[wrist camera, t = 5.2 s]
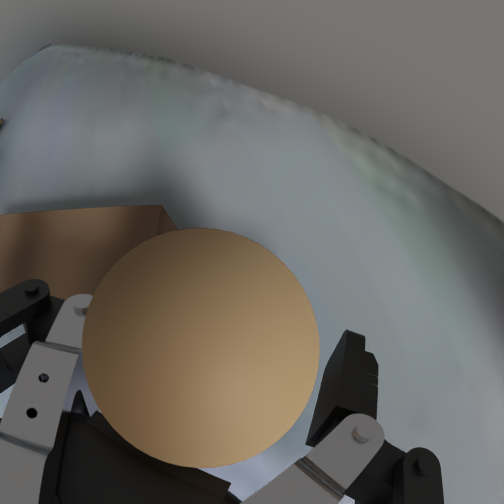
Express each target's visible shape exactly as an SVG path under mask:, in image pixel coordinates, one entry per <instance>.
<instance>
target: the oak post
mask: <svg viewBox="0 0 504 504" xmlns="http://www.w3.org/2000/svg"><path fill="white" fill-rule="evenodd" d="M319 354H320V351H319V334H318V329H317V323H316V319H315V316H314V313H313V310H312V307H311V304H310V301H309V299H308V297H307V295H306V293H305V291H304V289H303V288H302V286H301V285H300V283H299V282H298V280H297V279H296V277H295V276H294V274H293V273H292V272H291V271H290V270H289V269H288V268H287V266H286V265H285V264H284V263H283V262H282V261H281V260H280V259H278V258H277V257H276V256H275V255H274V254H273V253H271V252H270V251H269V250H267V249H266V248H264V247H262V246H261V245H259V244H258V243H256V242H254V241H252V240H250V239H248V238H246V237H243V236H240V235H237V234H234V233H231V232H228V231H223V230H217V229H208V228H190V229H181V230H176V231H171V232H168V233H164V234H161V235H158V236H156V237H153V238H151V239H149V240H147V241H145V242H143V243H141V244H140V245H138V246H136V247H135V248H133V249H132V250H130V251H129V252H128V253H127V254H125V255H124V256H123V257H122V258H121V259H120V260H119V261H118V262H117V263H116V264H115V265H114V266H113V267H112V268H111V269H110V270H109V271H108V273H107V274H106V275H105V277H104V278H103V279H102V281H101V282H100V284H99V286H98V287H97V289H96V291H95V293H94V295H93V297H92V300H91V302H90V304H89V307H88V310H87V314H86V317H85V322H84V327H83V334H82V359H83V366H84V371H85V376H86V379H87V383H88V386H89V389H90V391H91V394H92V396H93V398H94V400H95V402H96V404H97V406H98V408H99V409H100V411H101V413H102V414H103V416H104V417H105V418H106V420H107V421H108V422H109V423H110V425H111V426H112V427H113V428H114V429H115V430H116V431H117V432H118V433H119V434H120V435H121V436H122V437H123V438H124V439H125V440H126V441H128V442H129V443H130V444H132V445H133V446H134V447H136V448H137V449H139V450H141V451H142V452H144V453H146V454H148V455H150V456H152V457H154V458H157V459H159V460H162V461H164V462H167V463H171V464H175V465H179V466H185V467H194V468H212V467H220V466H226V465H231V464H234V463H237V462H240V461H243V460H246V459H249V458H251V457H253V456H255V455H257V454H259V453H261V452H262V451H264V450H265V449H267V448H268V447H270V446H271V445H273V444H274V443H275V442H277V441H278V440H279V439H280V438H281V437H282V436H283V435H284V434H285V433H286V432H287V431H288V430H289V429H290V428H291V427H292V425H293V424H294V423H295V422H296V420H297V419H298V418H299V416H300V415H301V413H302V411H303V409H304V408H305V406H306V404H307V403H308V400H309V398H310V395H311V393H312V390H313V388H314V384H315V380H316V376H317V372H318V364H319Z"/></svg>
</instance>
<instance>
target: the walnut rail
mask: <svg viewBox="0 0 504 504" xmlns="http://www.w3.org/2000/svg"><path fill="white" fill-rule="evenodd" d="M176 230H178V229H177V228H176V226H175V225H174V223H173V222H172V220H171V219H170V217H169V215H168V214H167V212H166V211H165V209H164V208H163V206H162V205H146V206H120V207H99V208H82V209H66V210H52V211H39V212H27V213H16V214H6V215H0V293H1V292H3V291H5V290H7V289H9V288H11V287H13V286H15V285H17V284H19V283H21V282H23V281H26V280H29V279H40V280H43V281H45V282H46V283H47V284H48V286H49V290H50V295H51V296H54V297H57V298H60V299H63V300H67V299H68V298H69V297H71V296H74V295H77V294H89V295H92V296H93V295H94V293H95V291H96V289H97V287H98V286H99V284H100V282H101V281H102V279H103V278H104V277H105V275H106V274H107V273H108V271H109V270H110V269H111V268H112V267H113V266H114V265H115V264H116V263H117V262H118V261H119V260H120V259H121V258H122V257H123V256H124V255H125V254H127V253H128V252H129V251H130V250H132V249H133V248H135V247H136V246H138V245H140V244H141V243H143V242H145V241H147V240H149V239H151V238H153V237H156V236H158V235H161V234H164V233H168V232H171V231H176Z"/></svg>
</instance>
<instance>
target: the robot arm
mask: <svg viewBox="0 0 504 504" xmlns="http://www.w3.org/2000/svg"><path fill="white" fill-rule="evenodd" d="M92 297H93V296H92V295H89V294H77V295H74V296H71V297H69V298H68V299H67V300H63V299H60V298H57V297H54V296H51V295H50V290H49V286H48V284H47V283H46V282H45V281H43V280H40V279H29V280H26V281H23V282H21V283H19V284H17V285H15V286H13V287H11V288H9V289H7V290H5V291H3V292H1V293H0V338H1V336H3V335H4V334H6V333H8V332H9V331H11V330H13V329H14V328H16V327H18V326H19V325H21V324H23V325H24V329H25V332H26V333H25V334H23V335H21V336H20V337H18V338H16V339H15V340H13V341H11V342H10V343H8V344H7V345H5V346H3V347H2V348H0V393H2V392H3V391H4V390H6V389H7V388H9V387H10V386H12V385H13V384H14V383H15V385H14V387H13V390H12V393H11V395H10V398H9V400H8V403H7V406H6V409H5V412H4V414H3V417H2V418H0V504H338V503H339V502H340V501H341V499H342V498H343V497H344V495H347V496H349V497H350V498H352V499H354V500H355V504H444V496H443V485H442V476H441V467H440V463H439V460H438V458H437V457H436V456H435V454H434V453H433V452H431V451H430V450H428V449H426V448H421V447H417V448H413V449H411V450H410V451H409V452H407V453H406V452H404V451H402V450H400V449H398V448H397V447H395V446H393V445H391V444H390V443H388V442H387V441H386V440H385V439H384V432H383V429H382V427H381V426H380V424H379V423H378V422H377V421H376V418H377V398H378V387H377V386H378V363H377V361H376V359H375V357H374V354H372V353H369V352H366V351H365V336H363V335H360V334H357V333H355V332H352V331H349V330H345V332H344V333H343V335H342V337H341V339H340V341H339V342H338V344H337V346H336V348H335V350H334V352H333V353H332V355H331V357H330V359H329V361H328V363H327V365H326V368H325V371H324V374H323V378H322V382H321V387H320V391H319V395H318V399H317V403H316V407H315V411H314V415H313V419H312V422H311V426H310V430H309V433H308V437H307V441H306V444H305V445H308V446H311V447H314V448H313V449H312V450H311V451H310V452H309V453H308V454H307V455H305V456H304V457H303V458H302V459H301V458H300V459H299V460H297V461H296V462H295V463H294V464H292V465H291V466H290V467H289V468H287V469H286V470H285V471H284V472H282V473H281V474H280V475H279V476H277V477H276V478H275V479H273V480H272V481H271V482H269V483H268V484H267V485H265V486H264V487H263V488H261V489H260V490H259V491H257V492H256V493H254V494H253V495H252V496H250V497H249V498H247V499H246V500H244V501H243V502H242V501H241V500H239V499H238V498H237V497H236V496H235V495H233V494H232V493H231V492H229V491H228V489H229V487H230V485H231V483H230V482H227V481H225V480H222V479H220V478H218V477H215V476H213V475H211V474H208V473H206V472H204V471H202V470H200V469H197V468H194V467H185V466H179V465H175V464H171V463H167V462H164V461H162V460H159V459H157V458H154V457H152V456H150V455H148V454H146V453H144V452H142V451H141V450H139V449H137V448H136V447H134V446H133V445H132V444H130V443H129V442H128V441H126V440H125V439H124V438H123V437H122V436H121V435H120V434H119V433H118V432H117V431H116V430H115V429H114V428H113V427H112V426H111V425H110V423H109V422H108V421H107V420H106V418H105V417H104V416H103V414H102V413H100V409H99V408H98V406H97V404H96V402H95V400H94V398H93V396H92V394H91V391H90V389H89V386H88V383H87V379H86V376H85V371H84V366H83V359H82V334H83V327H84V322H85V317H86V314H87V310H88V307H89V304H90V302H91V300H92Z"/></svg>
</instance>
